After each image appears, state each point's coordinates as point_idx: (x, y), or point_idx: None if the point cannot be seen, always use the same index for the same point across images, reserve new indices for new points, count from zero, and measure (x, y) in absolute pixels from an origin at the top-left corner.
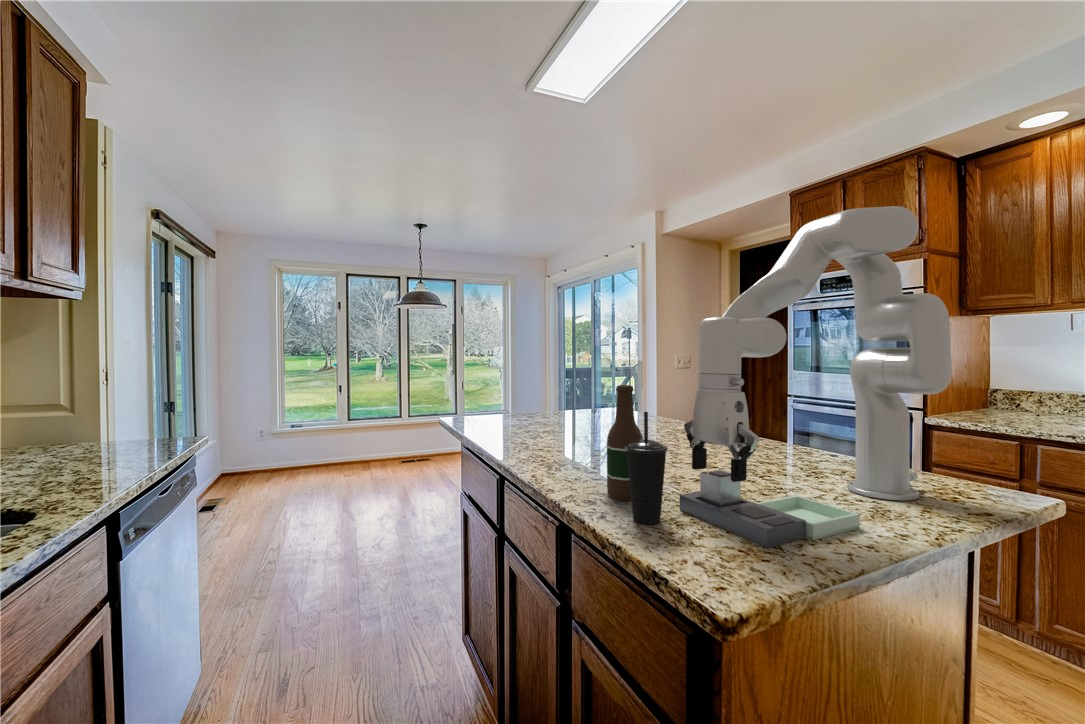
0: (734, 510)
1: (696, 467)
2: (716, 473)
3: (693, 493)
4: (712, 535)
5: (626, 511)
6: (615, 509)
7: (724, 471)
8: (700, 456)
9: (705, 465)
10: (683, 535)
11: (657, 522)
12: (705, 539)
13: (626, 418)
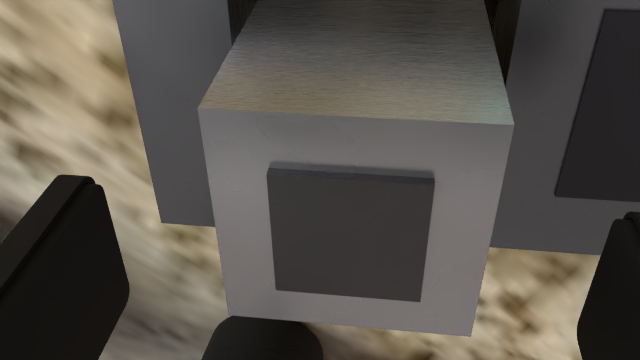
0: (581, 196)
1: (122, 293)
2: (348, 279)
3: (162, 139)
4: (545, 272)
5: (137, 341)
6: (102, 355)
7: (284, 127)
8: (62, 344)
9: (90, 207)
10: (469, 346)
11: (321, 351)
12: (554, 318)
13: None
